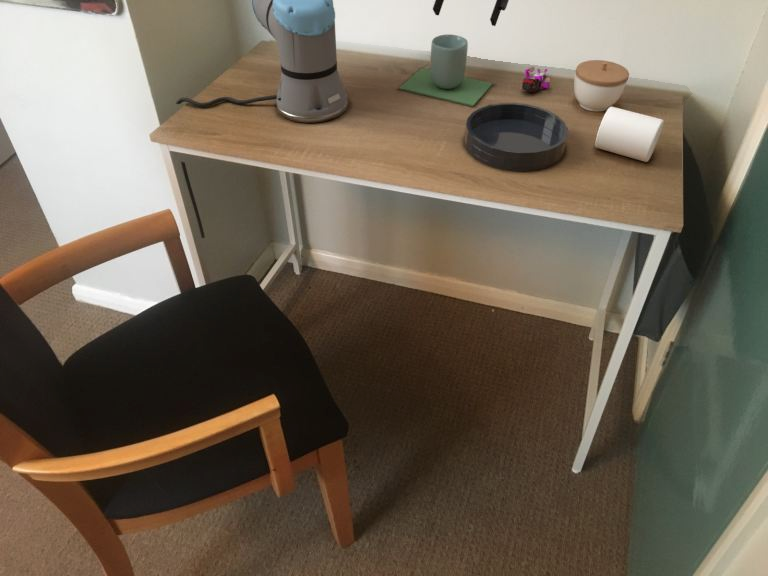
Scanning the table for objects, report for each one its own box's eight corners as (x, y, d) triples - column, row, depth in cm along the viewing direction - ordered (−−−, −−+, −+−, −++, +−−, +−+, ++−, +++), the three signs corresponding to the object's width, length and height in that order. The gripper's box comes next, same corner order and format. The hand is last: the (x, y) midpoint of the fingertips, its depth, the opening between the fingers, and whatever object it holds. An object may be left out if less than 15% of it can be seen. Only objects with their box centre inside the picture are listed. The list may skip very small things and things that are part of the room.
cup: (442, 74, 142) (445, 31, 135) (470, 84, 139) (474, 40, 132) (422, 86, 138) (424, 42, 131) (450, 96, 134) (454, 51, 127)
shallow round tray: (449, 155, 117) (450, 137, 115) (485, 112, 130) (487, 95, 127) (547, 181, 111) (551, 162, 108) (575, 134, 123) (579, 116, 120)
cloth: (399, 89, 138) (399, 87, 138) (421, 69, 145) (421, 67, 145) (473, 106, 132) (473, 105, 131) (492, 84, 139) (492, 83, 139)
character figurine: (529, 77, 144) (515, 92, 135) (534, 55, 141) (520, 69, 132) (553, 83, 142) (540, 98, 134) (558, 61, 139) (546, 75, 131)
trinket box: (566, 112, 130) (576, 70, 123) (570, 90, 137) (580, 49, 131) (618, 120, 127) (631, 77, 121) (620, 97, 135) (632, 55, 128)
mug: (643, 169, 114) (656, 131, 108) (591, 154, 118) (601, 116, 112) (659, 141, 121) (673, 104, 116) (610, 128, 125) (620, 91, 119)
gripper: (552, -58, 133) (519, 35, 134) (447, -72, 141) (417, 16, 142) (550, -80, 126) (515, 18, 127) (440, -93, 134) (408, -1, 135)
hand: (463, 17), depth 134 cm, fingers open, 13 cm apart
